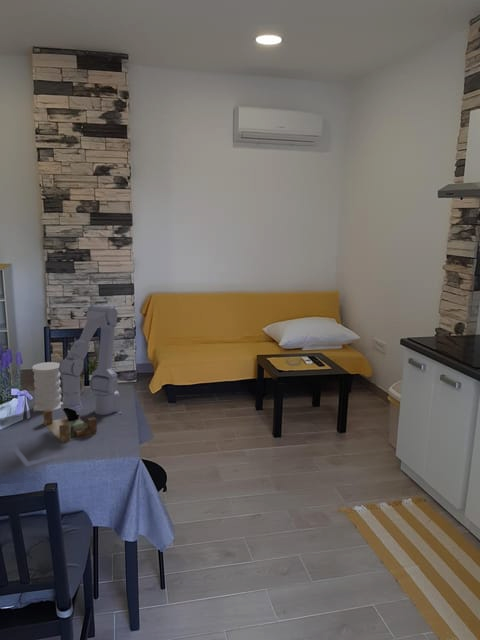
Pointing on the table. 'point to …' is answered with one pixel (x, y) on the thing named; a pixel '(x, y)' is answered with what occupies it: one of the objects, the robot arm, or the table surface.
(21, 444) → the table surface
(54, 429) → the stool board
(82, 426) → the lock block
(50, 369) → the decorative container
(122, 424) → the table surface
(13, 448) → the table surface
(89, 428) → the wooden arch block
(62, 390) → the coffee box
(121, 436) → the table surface
